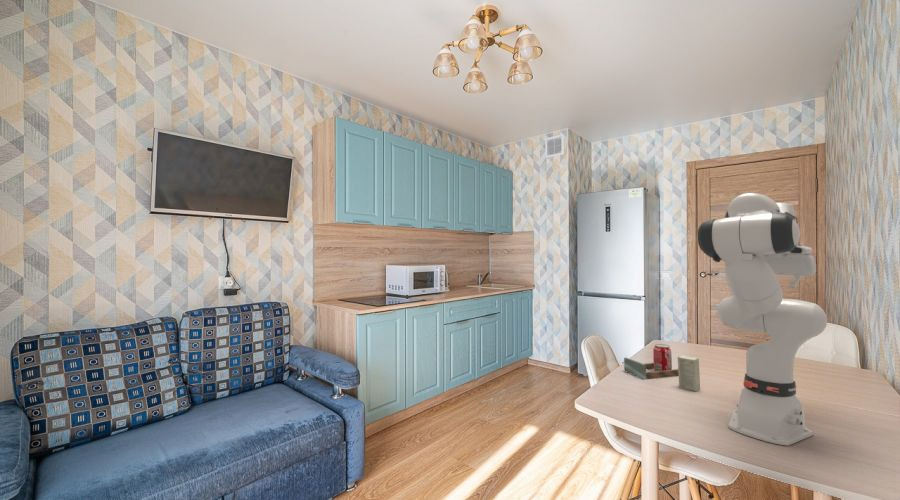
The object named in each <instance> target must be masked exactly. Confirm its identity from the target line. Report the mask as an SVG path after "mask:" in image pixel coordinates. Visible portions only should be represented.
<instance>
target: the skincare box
mask: <svg viewBox="0 0 900 500" xmlns="http://www.w3.org/2000/svg"><path fill="white" fill-rule="evenodd" d="M677 368H678V374H679V376H678V387H679V388H681V389H684V390H689V391H693V392H698V391H700V389H701V379H700V376H701V375H700V359H699V357H694V356H688V355H683V354H682V355H678V356H677Z"/></svg>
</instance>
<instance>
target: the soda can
mask: <svg viewBox="0 0 900 500" xmlns="http://www.w3.org/2000/svg"><path fill="white" fill-rule="evenodd" d="M652 352H653V358H652V359H653V360H652V361H653V363H654V369H653V371H654V372H655V371H666V370H673V369H672V367H673V362H672V350H671V348H670V345H669V344H663V343H655V344H654V347H653V351H652Z"/></svg>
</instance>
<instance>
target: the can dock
mask: <svg viewBox="0 0 900 500" xmlns="http://www.w3.org/2000/svg"><path fill="white" fill-rule="evenodd" d="M623 366H624V367H623V369H624V370H625V371H624V370H623V371H624V372H626V371H627V372H626V373H628V372H630V373H632V374H631V375H633V374H634V376H635V375H636V376H635V377H637V376H638V377H637V378H640V379H643V380H652V379H660V378H671V377H672V378H673V377H679V374H678V369H672V370H666V371H655V370H654V362H646V363H642V362H641V361H640V362H639V361H637V360H634V359H632V358H628V357H624V358H623ZM646 369H648V370H654V371H647V370H646ZM630 373H629V374H630Z"/></svg>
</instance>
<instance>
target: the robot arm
mask: <svg viewBox="0 0 900 500" xmlns="http://www.w3.org/2000/svg"><path fill="white" fill-rule="evenodd" d="M794 209H795V207H794V205H793V204H792V203H790V202H783V201H781V202H778V201H777V202H776V201H774V199H772V198H770V197H769V196H767V195H764V194H761V193H757V192H746V193H742V194H739V195H737V196H736V197H735V198H733V199H732V200H731V201H730V203H729V204H728V206H727V211H726V212H725V216H724V217H723V218H718V219H716V218H713V219H710V220H706V221H704V222H702V223H701V224H700V225H699V226H698V229H697V235H696V241H697V244H698V247H699V249H700V250H701V252H703V254H705V255H706V256H707V257H709V258H711V259H712V260H713V262H715V263H720V262H721V261H723V263H724V265H725V266H724V273H725V278H726V279H725V280H726V283H727V286H728V289H729V291H730V292H731V294H732V295H730V296H727V297H724V298H723V299H722V300H720V302H719V303H718V305H717V308H716V309H717V310H716V311H717V312H716V314H717V317H718V319H719V321H720V322H721V323H722V325H724V326H726V327H730V328H733V329H737V330H739V331H747V332H755V333H763V334H764V333H765V334H769V335H770V339H768V340H767V341H764V342H760V343H756V344H753V345H751V346H749V347H748V348H747V350H746V352H745V360H746V362H745V364H746V365H745V366H746V367H745V368H746V370H745V371H746V373H745V374H744V377H743V382H742V383H743V388H741V392H740V397H739V400H738V403H736V406H737V409H734V410H733V411H732V414H731V416H730V419H729V422H728V425H727V426H728V428H729V429H731V430H732V431H735V432H737V433H740V434H742V435H745V436H747V437H750V438H754V439H756V440H757V439H758V440H760V441H763V442H767V443H771V444H776V445H781V446H790V445H792V444H795V443H798V442H800V441H803V440H805V439H807V438H811V437H812V436H814V434H813V430H811V429H809V428H808V427H806V423H805V412H804V404H803V402H802V401H800V399H798V398H797V396H796V395H797V383H796V381H795V380H794V371H795V370H794V367H795V366H794V365H795V359H796V354H797V352H798V350H799V349H800V348H801V346H802V345H804V343H806V342H807V341H809V340H811V339H813V338H816V337H817V336H819V335H820V334H822V333H824V331H825V329H826V327H827V326H828V316H827V314H826V312H825V310H824V309H823V308H822V307H821V306H820V305H818V304H817V303H814V302H810V301H806V300H801V299H794V298H793V299H792V298H784V292H783V290H782V287H781V284H780V282H779V279H778V277H777V275H789V276H790V275H791V276H793V278H794V279H795V280H794V281H792V282H790V283H789V288H790V289H797V288H798V283H800V280H802V278H803V276H804V277H812V276H814V275H816V273H817V264H816V259H815V257H814V255H812V253H813V248H812V247H810V246H807V245H806V246H805V245H802V244H798V243H799V240H800V237H801V230H800V229H801V228H800V227H799V224H798V218H797V216H796V215H795V210H794Z"/></svg>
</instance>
